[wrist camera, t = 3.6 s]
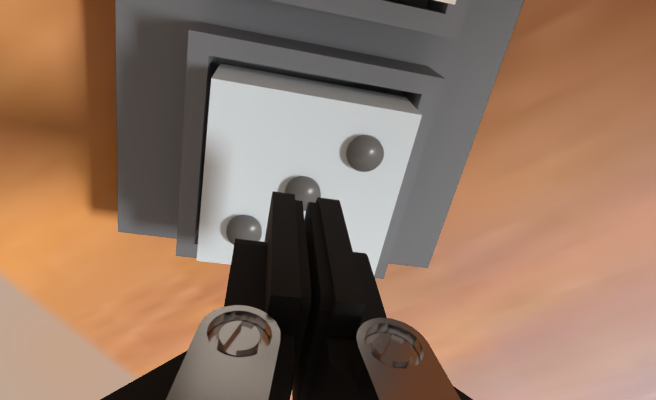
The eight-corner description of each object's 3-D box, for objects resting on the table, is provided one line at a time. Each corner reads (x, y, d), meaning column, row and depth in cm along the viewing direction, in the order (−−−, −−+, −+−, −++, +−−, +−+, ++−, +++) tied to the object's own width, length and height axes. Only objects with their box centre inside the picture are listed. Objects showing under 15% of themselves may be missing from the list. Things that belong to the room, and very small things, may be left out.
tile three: (405, 96, 15) (424, 117, 13) (364, 248, 18) (373, 283, 16) (220, 63, 14) (210, 79, 12) (205, 228, 17) (195, 264, 15)
